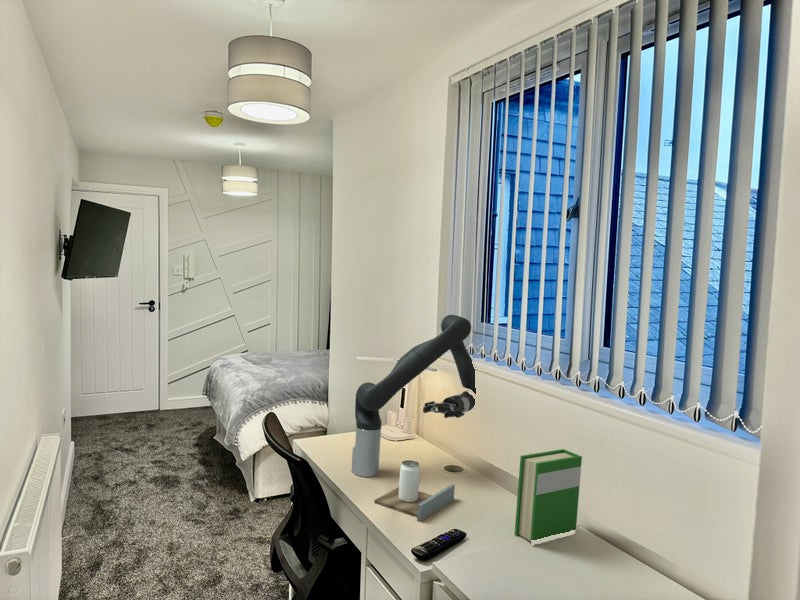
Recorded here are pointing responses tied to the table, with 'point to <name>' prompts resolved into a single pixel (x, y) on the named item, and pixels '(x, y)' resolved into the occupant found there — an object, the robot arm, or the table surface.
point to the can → (409, 481)
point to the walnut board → (401, 502)
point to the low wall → (435, 502)
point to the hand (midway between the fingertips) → (434, 412)
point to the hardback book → (547, 494)
